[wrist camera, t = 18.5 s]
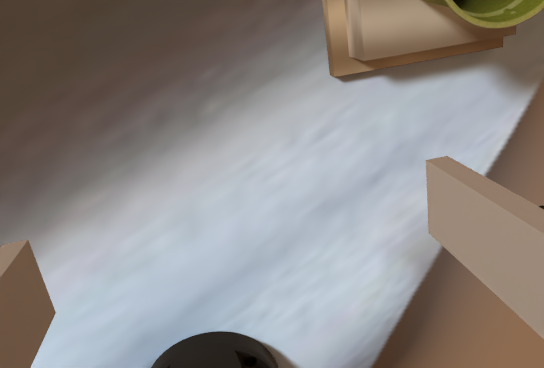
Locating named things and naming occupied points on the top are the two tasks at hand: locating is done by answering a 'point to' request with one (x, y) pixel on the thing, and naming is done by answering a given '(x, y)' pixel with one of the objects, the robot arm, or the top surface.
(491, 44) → the pedestal base
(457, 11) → the plant pot
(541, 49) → the top surface
